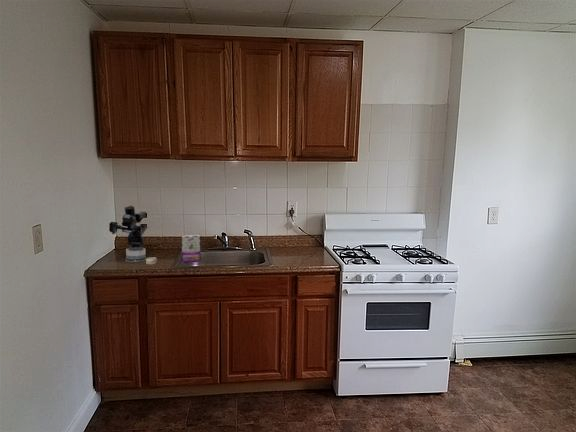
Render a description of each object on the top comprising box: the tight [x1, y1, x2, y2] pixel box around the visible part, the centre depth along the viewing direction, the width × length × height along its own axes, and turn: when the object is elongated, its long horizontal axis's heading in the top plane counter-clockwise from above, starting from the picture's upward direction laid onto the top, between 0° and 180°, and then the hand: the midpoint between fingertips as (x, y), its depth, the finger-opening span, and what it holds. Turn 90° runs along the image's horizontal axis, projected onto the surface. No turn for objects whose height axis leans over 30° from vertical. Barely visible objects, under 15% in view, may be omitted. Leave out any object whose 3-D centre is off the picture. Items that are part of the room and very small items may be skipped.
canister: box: [125, 246, 147, 264], centre depth 232 cm, size 12×12×7 cm
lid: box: [145, 256, 158, 265], centre depth 227 cm, size 6×6×3 cm
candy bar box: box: [181, 234, 202, 264], centre depth 232 cm, size 11×5×16 cm, turn 106°
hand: (120, 234), depth 223 cm, fingers open, 9 cm apart
